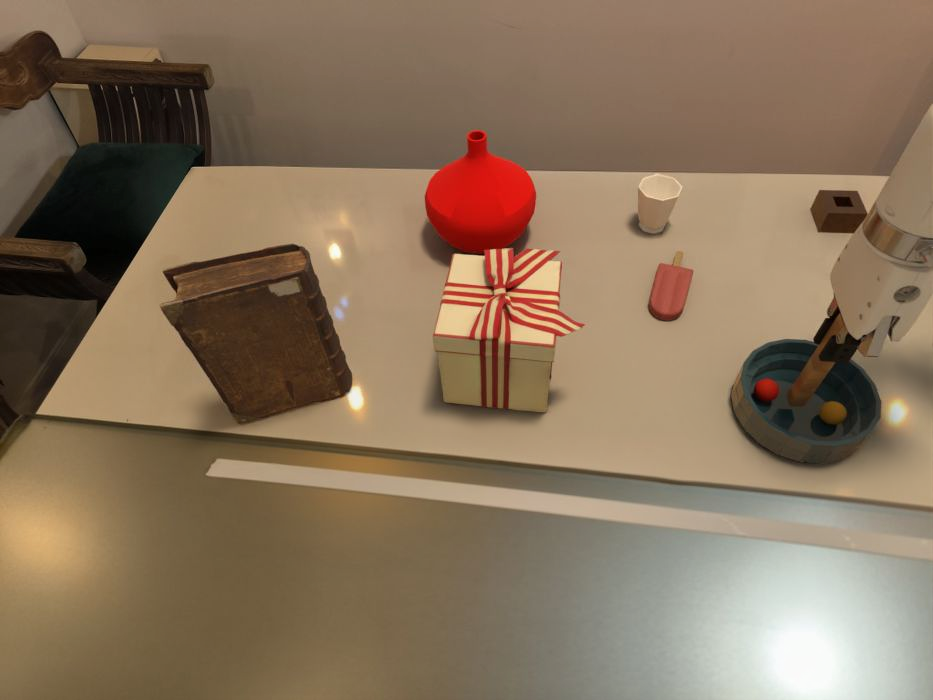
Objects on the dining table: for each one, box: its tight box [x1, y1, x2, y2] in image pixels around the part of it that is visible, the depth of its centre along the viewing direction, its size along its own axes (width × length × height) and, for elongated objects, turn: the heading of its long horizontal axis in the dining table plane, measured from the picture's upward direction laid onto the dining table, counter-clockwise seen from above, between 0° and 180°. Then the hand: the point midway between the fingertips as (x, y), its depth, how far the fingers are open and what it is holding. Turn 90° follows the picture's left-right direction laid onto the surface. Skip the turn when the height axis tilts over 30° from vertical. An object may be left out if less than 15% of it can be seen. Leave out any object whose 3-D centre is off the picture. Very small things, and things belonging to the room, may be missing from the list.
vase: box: [424, 129, 537, 255], centre depth 98 cm, size 18×18×19 cm
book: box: [159, 243, 354, 425], centre depth 77 cm, size 17×7×25 cm, turn 100°
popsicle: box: [648, 250, 694, 321], centre depth 95 cm, size 5×2×15 cm
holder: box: [810, 189, 869, 234], centre depth 101 cm, size 6×6×4 cm
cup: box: [637, 173, 683, 235], centre depth 102 cm, size 7×10×8 cm
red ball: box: [754, 379, 779, 401], centre depth 80 cm, size 3×3×3 cm
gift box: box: [432, 247, 586, 413], centre depth 81 cm, size 17×18×17 cm
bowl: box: [730, 338, 883, 465], centre depth 78 cm, size 16×16×5 cm
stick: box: [787, 313, 844, 407], centre depth 72 cm, size 2×2×16 cm
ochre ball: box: [819, 401, 847, 425], centre depth 77 cm, size 3×3×3 cm
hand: (830, 350), depth 70 cm, fingers closed on stick, 1 cm apart
